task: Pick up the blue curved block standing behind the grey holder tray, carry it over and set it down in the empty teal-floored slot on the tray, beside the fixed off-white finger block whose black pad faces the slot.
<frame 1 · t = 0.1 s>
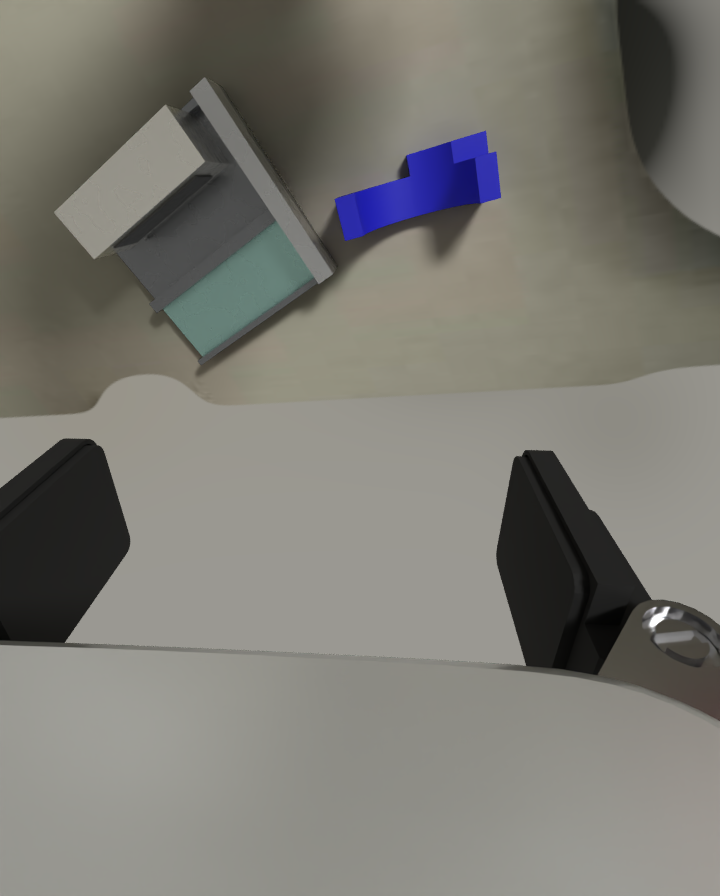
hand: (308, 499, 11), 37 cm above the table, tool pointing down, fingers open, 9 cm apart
blue curved block: (411, 186, 40), on the table
grey holder tray: (214, 239, 43), on the table
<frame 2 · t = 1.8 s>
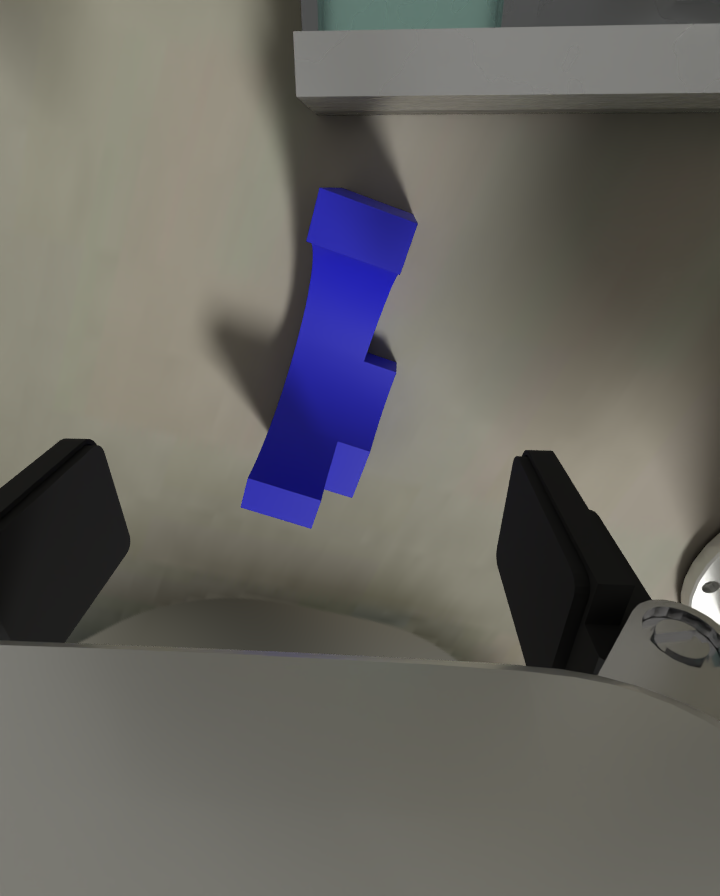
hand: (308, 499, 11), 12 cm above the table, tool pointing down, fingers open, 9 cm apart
blue curved block: (350, 344, 22), on the table
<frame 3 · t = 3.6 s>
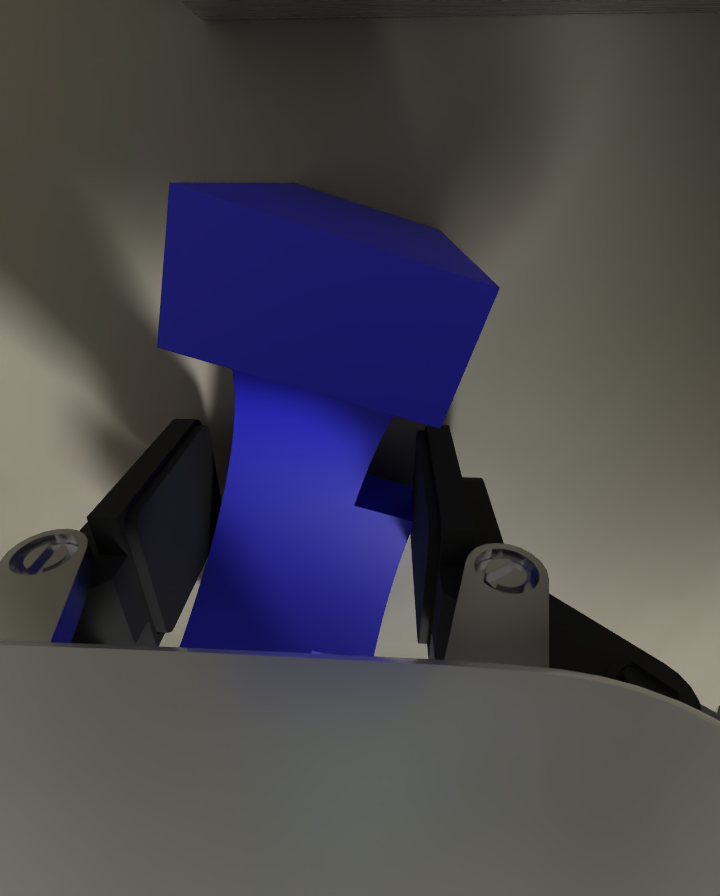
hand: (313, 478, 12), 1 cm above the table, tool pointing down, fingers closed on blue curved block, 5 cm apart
blue curved block: (331, 460, 13), on the table, touching gripper
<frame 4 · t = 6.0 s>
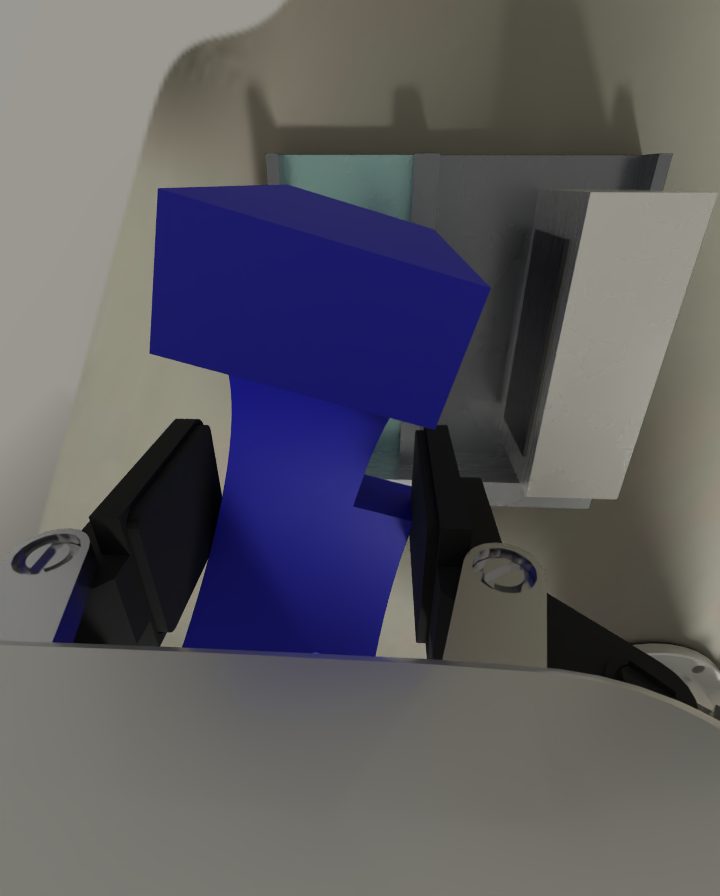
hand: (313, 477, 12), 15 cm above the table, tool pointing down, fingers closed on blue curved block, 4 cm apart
blue curved block: (329, 461, 13), point 14 cm above the table, touching gripper
grey holder tray: (441, 335, 25), on the table
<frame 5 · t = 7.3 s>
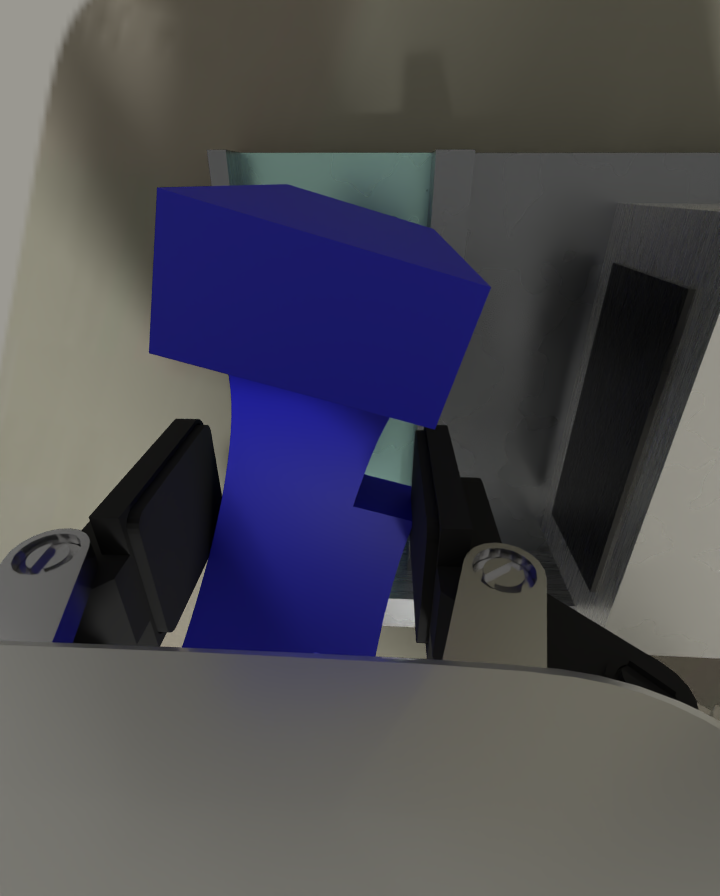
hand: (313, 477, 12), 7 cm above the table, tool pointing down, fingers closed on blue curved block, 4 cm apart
blue curved block: (329, 461, 13), point 6 cm above the table, touching gripper
grey holder tray: (466, 399, 18), on the table
when the fingers open (3 cm above the table, at t = 8.5 s): blue curved block stays where it is, resting on grey holder tray.
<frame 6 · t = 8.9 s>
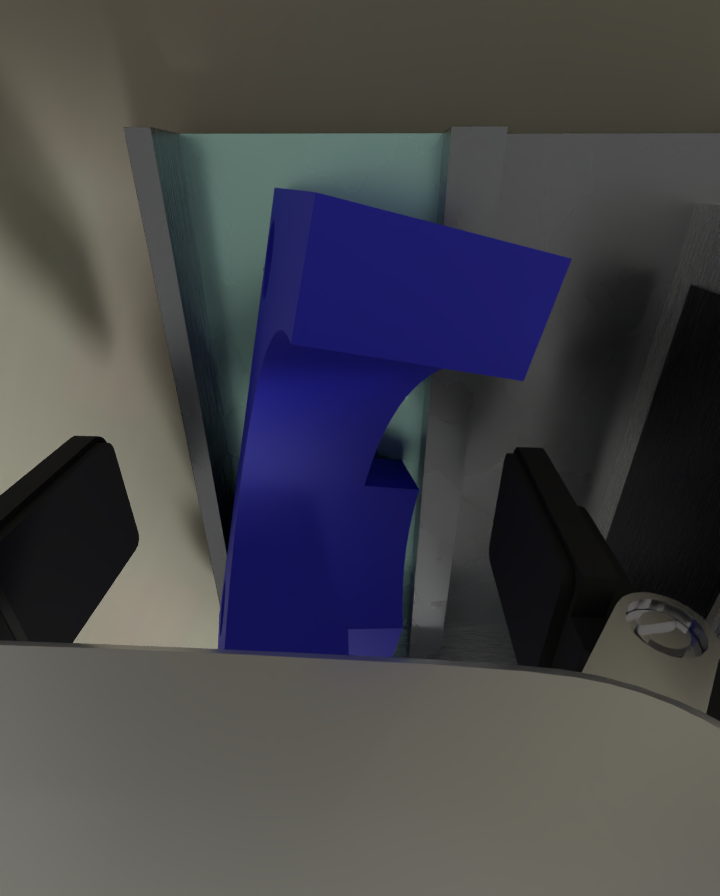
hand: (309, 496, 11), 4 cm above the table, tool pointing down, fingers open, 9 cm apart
blue curved block: (324, 450, 13), point 1 cm above the table, touching grey holder tray
grey holder tray: (482, 449, 15), on the table
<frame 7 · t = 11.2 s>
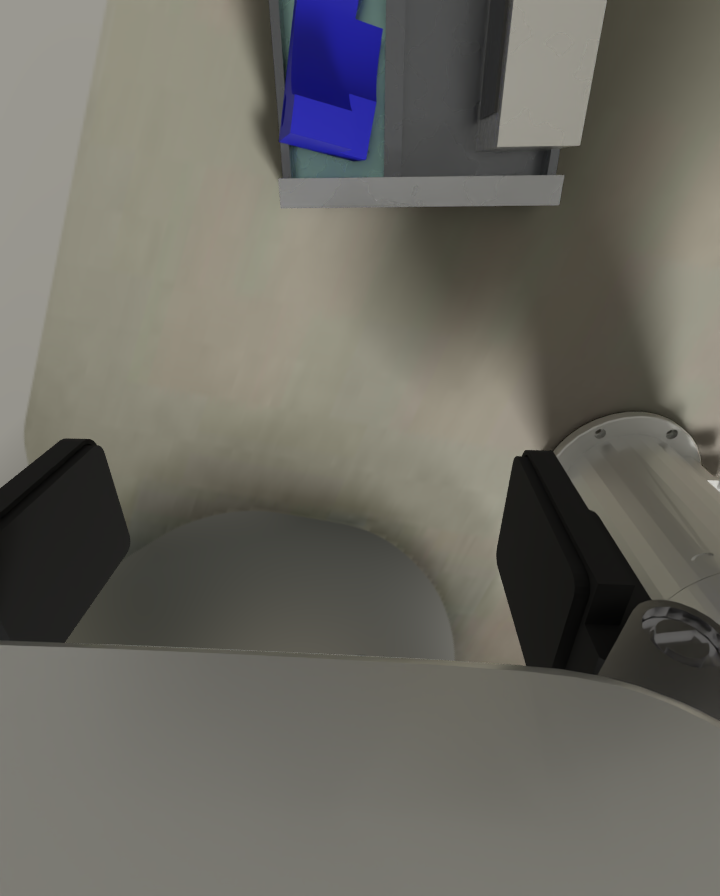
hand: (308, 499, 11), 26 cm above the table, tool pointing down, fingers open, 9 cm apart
blue curved block: (335, 23, 25), point 1 cm above the table, touching grey holder tray
grey holder tray: (420, 44, 27), on the table
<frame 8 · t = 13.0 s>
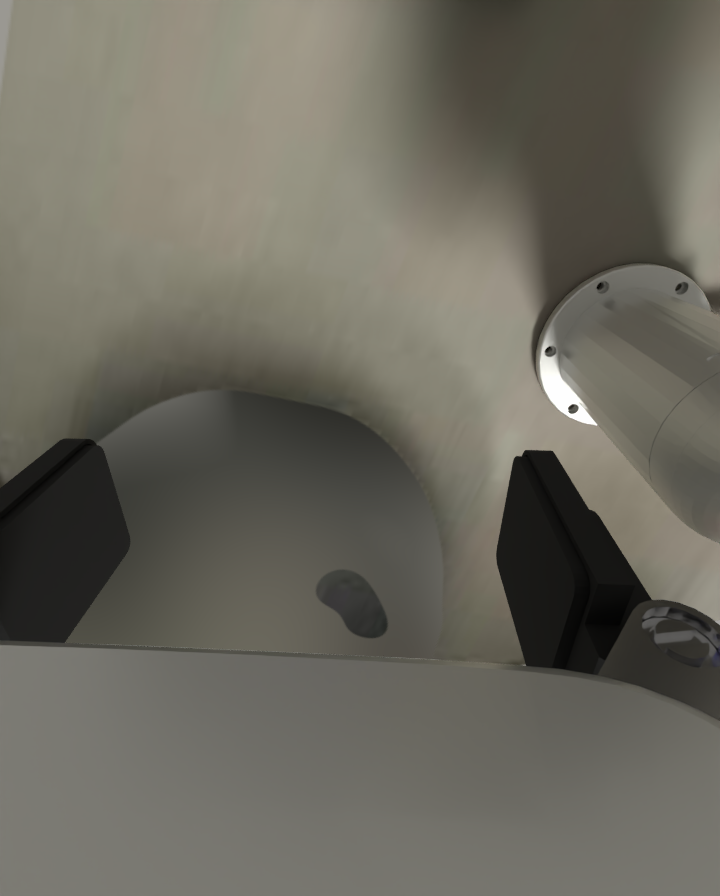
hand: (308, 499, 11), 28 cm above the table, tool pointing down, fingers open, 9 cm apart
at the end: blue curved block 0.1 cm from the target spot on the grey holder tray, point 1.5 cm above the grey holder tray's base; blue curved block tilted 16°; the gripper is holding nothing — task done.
